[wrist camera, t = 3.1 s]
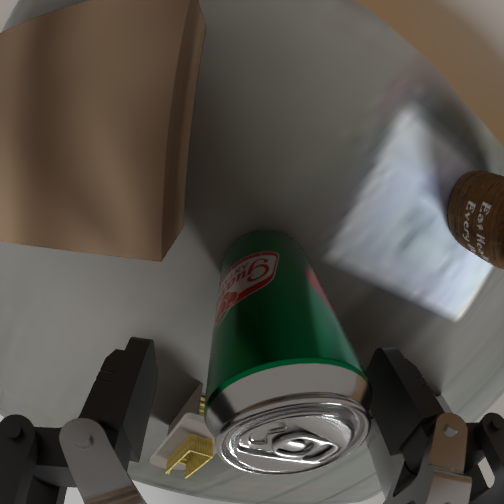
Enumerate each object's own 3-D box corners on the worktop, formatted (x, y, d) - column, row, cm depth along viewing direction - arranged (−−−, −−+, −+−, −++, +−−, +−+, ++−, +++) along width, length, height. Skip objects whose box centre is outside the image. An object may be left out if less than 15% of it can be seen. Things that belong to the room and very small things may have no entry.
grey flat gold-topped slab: (307, 368, 21) (325, 434, 15) (212, 458, 27) (210, 505, 21) (164, 308, 19) (138, 374, 13) (113, 423, 24) (97, 470, 18)
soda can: (255, 209, 16) (285, 359, 5) (321, 258, 17) (414, 415, 6) (206, 276, 18) (169, 455, 6) (271, 315, 19) (299, 487, 8)
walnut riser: (206, 26, 12) (193, -14, 8) (183, 227, 16) (161, 261, 12) (38, 49, 11) (-7, 36, 7) (26, 215, 16) (-19, 238, 11)
